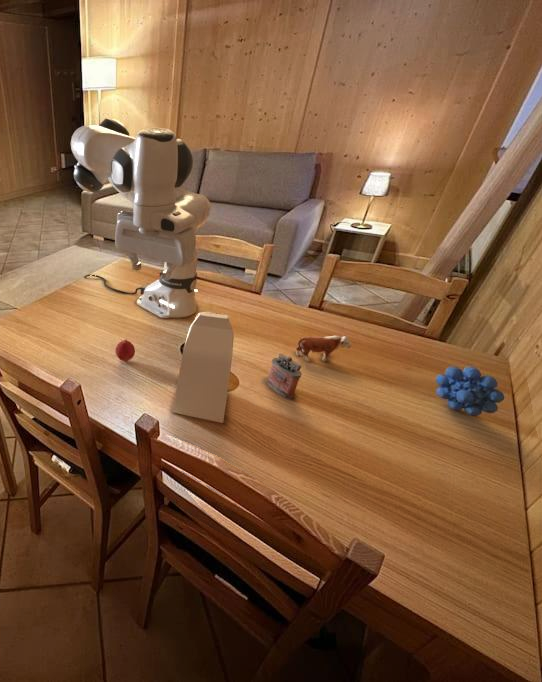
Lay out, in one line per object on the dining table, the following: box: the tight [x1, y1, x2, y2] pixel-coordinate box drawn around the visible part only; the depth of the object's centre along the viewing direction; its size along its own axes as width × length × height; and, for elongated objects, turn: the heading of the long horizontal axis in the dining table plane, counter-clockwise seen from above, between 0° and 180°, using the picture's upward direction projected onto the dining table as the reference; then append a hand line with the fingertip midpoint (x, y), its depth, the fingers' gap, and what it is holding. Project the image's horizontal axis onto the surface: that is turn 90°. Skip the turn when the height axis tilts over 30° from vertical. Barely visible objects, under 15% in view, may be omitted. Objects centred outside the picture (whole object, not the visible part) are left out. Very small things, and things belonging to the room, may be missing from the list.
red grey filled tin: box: [265, 353, 303, 399], centre depth 92 cm, size 8×3×10 cm, turn 23°
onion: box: [115, 338, 136, 362], centre depth 107 cm, size 6×6×8 cm
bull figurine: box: [295, 334, 353, 362], centre depth 102 cm, size 4×13×8 cm, turn 79°
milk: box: [172, 311, 235, 424], centre depth 85 cm, size 12×12×26 cm
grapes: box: [434, 365, 505, 417], centre depth 82 cm, size 12×7×12 cm, turn 40°
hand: (151, 274), depth 85 cm, fingers open, 7 cm apart
